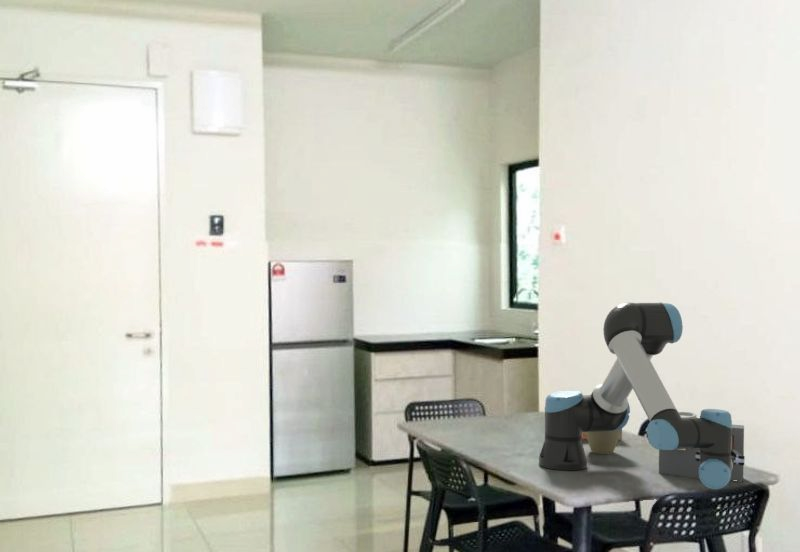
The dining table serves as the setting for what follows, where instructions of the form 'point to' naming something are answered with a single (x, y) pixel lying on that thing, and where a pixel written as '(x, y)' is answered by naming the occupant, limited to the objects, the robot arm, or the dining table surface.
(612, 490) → the dining table surface
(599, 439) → the plant pot
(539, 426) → the dining table surface
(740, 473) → the button panel
